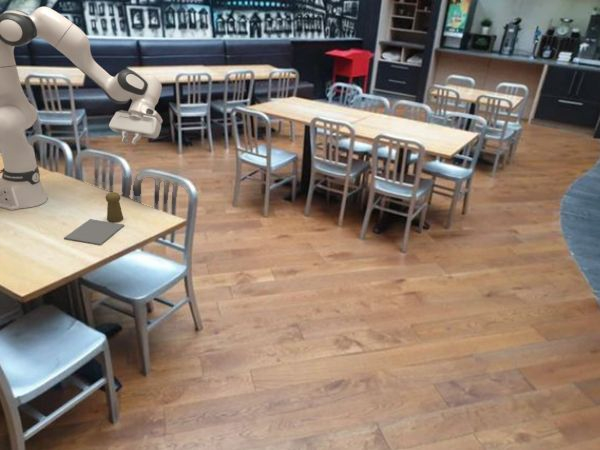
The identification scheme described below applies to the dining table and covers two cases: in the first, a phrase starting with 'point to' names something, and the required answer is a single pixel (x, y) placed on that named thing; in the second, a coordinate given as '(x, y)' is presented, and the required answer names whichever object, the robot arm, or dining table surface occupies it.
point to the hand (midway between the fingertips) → (128, 143)
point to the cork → (113, 208)
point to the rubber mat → (94, 232)
